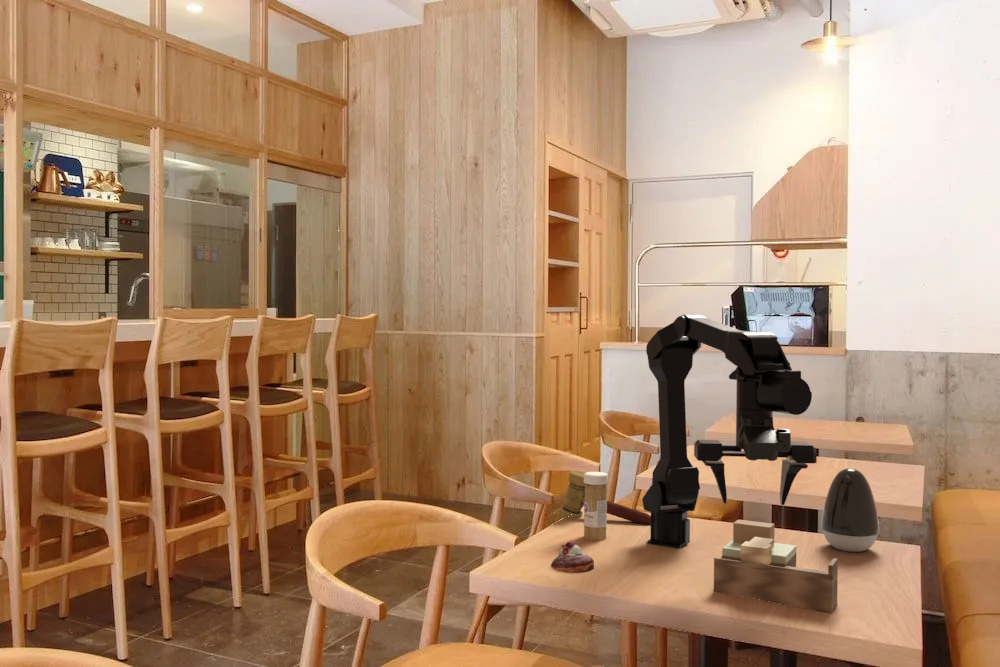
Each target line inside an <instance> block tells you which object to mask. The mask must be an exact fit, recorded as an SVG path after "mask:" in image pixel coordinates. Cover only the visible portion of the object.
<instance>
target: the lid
mask: <svg viewBox="0 0 1000 667" xmlns="http://www.w3.org/2000/svg"><path fill="white" fill-rule="evenodd" d="M732 524H733V525H732V526H733V528H732V531H733V532H732V533H733V534H732V537H733V538H732V540H731V541H729V542H728V543H727V544H726V545H724V546H723V547H722V548H721V556H722V555H724V556H731V557H738V558H741V545H742V544H743V543H744V542H745V541H748V542H749V541H750V540H752V539H753V538H754V537H761V538H769V539H774V540H775V523H771V522H762V521H754V520H748V519H747V520H744V519H737V520H736V521H733V522H732ZM795 554H796V555H797V545H793V544H786V543H778V542H774V548H773V549H772V550H771V562H773V563H780V564H786V563H787V562H788V561H789V560H790V559H791V558H792V557H793V556H794V555H795Z"/></svg>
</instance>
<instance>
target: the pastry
mask: <svg viewBox="0 0 1000 667" xmlns="http://www.w3.org/2000/svg"><path fill="white" fill-rule="evenodd" d="M550 566H551V567H552V568H553V569H554V570H557V571H560V572H564V573H585V572H590V571H592V570H594V569H595V560H594V559H593V558H592V556H590V555H588V554H586V553H585V554H584V552H583V551H582V549H581V547H580V546H579V545H577V544H576V542H575V541H574V540H569V541H567V542H566V543H564V544H561V547H560V549H559V551H558V554H557V556H556V557H555V558H554V559H553V560H552V561H551V564H550Z"/></svg>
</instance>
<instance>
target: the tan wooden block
mask: <svg viewBox="0 0 1000 667" xmlns="http://www.w3.org/2000/svg"><path fill="white" fill-rule="evenodd" d="M774 543H775V538H774V539H769V538H761V537H754V538H753V539H752V540H750V541H749V542H748V541H745V542H744V543H743V544H742V545H741V561H743V562H750V563H757V564H764V565H769V564H770V563H771V550H772V549H773V548H774Z"/></svg>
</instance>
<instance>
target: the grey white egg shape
mask: <svg viewBox="0 0 1000 667" xmlns="http://www.w3.org/2000/svg"><path fill="white" fill-rule="evenodd" d="M824 500H825V501H824V504H823V509H822V515H821V521H820V524H821V525H820V527H821V530H822V531H823V535H824V538H825V540H826V541H827V543H828V544H830V545H831V547H833V548H835V549H836V550H839V551H843V552H847V553H848V552H849V553H861V552H864V551H867V550H869V549H870V548H871V547H872V546H873V545H874V544H875V542H876V540H877V537H878V534H880V523H879V516H878V511H877V510H878V509H877V506H876V505H877V504H876V501H875V497H874V495H873V491H872V488H871V486H870V484H869V481H868V480H867V478H866V477H865V475H864V474H863V473H862V472H861V471H860V470H858V469H856V468H850V467H848V468H844V469H841V470H840V471H838V473H837V474H836V475H835V476H834V478H833V479H832V481H831V483H830V486H829V488H828V491H827V494H826V498H825V499H824Z"/></svg>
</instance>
